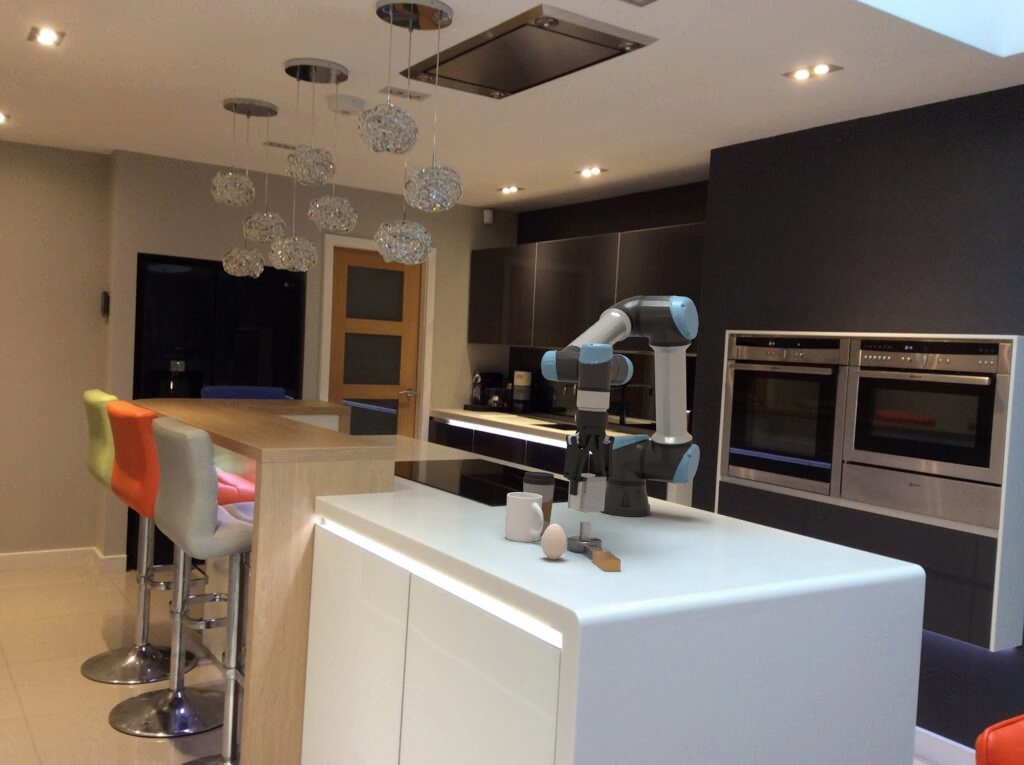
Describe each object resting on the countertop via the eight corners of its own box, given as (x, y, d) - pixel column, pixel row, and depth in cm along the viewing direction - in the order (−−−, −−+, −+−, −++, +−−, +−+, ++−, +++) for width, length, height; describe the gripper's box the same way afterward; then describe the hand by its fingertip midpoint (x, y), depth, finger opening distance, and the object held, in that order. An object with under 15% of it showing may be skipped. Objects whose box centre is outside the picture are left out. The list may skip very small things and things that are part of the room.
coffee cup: (549, 537, 211) (553, 477, 211) (516, 534, 213) (520, 474, 212) (554, 531, 219) (558, 473, 219) (522, 528, 221) (526, 470, 221)
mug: (526, 546, 199) (529, 501, 199) (497, 536, 209) (500, 493, 209) (555, 544, 204) (558, 499, 204) (526, 534, 214) (528, 491, 213)
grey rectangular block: (586, 506, 203) (588, 473, 203) (604, 511, 198) (606, 476, 198) (567, 507, 199) (569, 473, 199) (585, 512, 194) (587, 477, 194)
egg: (557, 563, 184) (560, 527, 184) (536, 559, 187) (538, 523, 187) (569, 559, 189) (571, 523, 189) (548, 555, 192) (550, 520, 191)
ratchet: (594, 546, 204) (596, 519, 204) (630, 571, 181) (632, 540, 181) (562, 546, 202) (564, 518, 202) (594, 571, 179) (596, 540, 179)
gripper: (610, 409, 207) (604, 503, 207) (551, 407, 195) (544, 508, 196) (632, 411, 201) (626, 509, 202) (573, 410, 189) (566, 513, 190)
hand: (586, 508), depth 199 cm, fingers closed on grey rectangular block, 6 cm apart
